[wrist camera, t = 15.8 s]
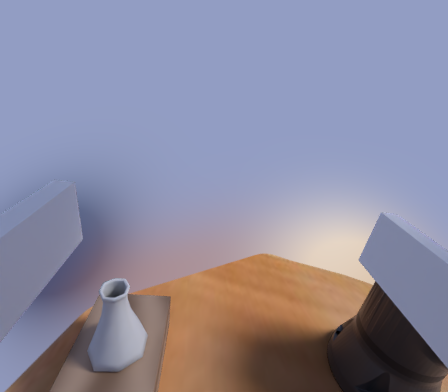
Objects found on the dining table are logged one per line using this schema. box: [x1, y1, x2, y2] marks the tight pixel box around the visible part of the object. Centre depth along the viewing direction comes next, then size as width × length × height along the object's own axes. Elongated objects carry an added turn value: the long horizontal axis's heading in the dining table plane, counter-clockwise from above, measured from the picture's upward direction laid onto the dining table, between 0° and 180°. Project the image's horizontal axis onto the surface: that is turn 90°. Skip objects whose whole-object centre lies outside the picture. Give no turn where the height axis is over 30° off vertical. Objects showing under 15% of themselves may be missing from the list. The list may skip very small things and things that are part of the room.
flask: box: [87, 278, 148, 372], centre depth 29 cm, size 7×7×10 cm
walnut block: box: [49, 294, 171, 392], centre depth 33 cm, size 11×16×7 cm
